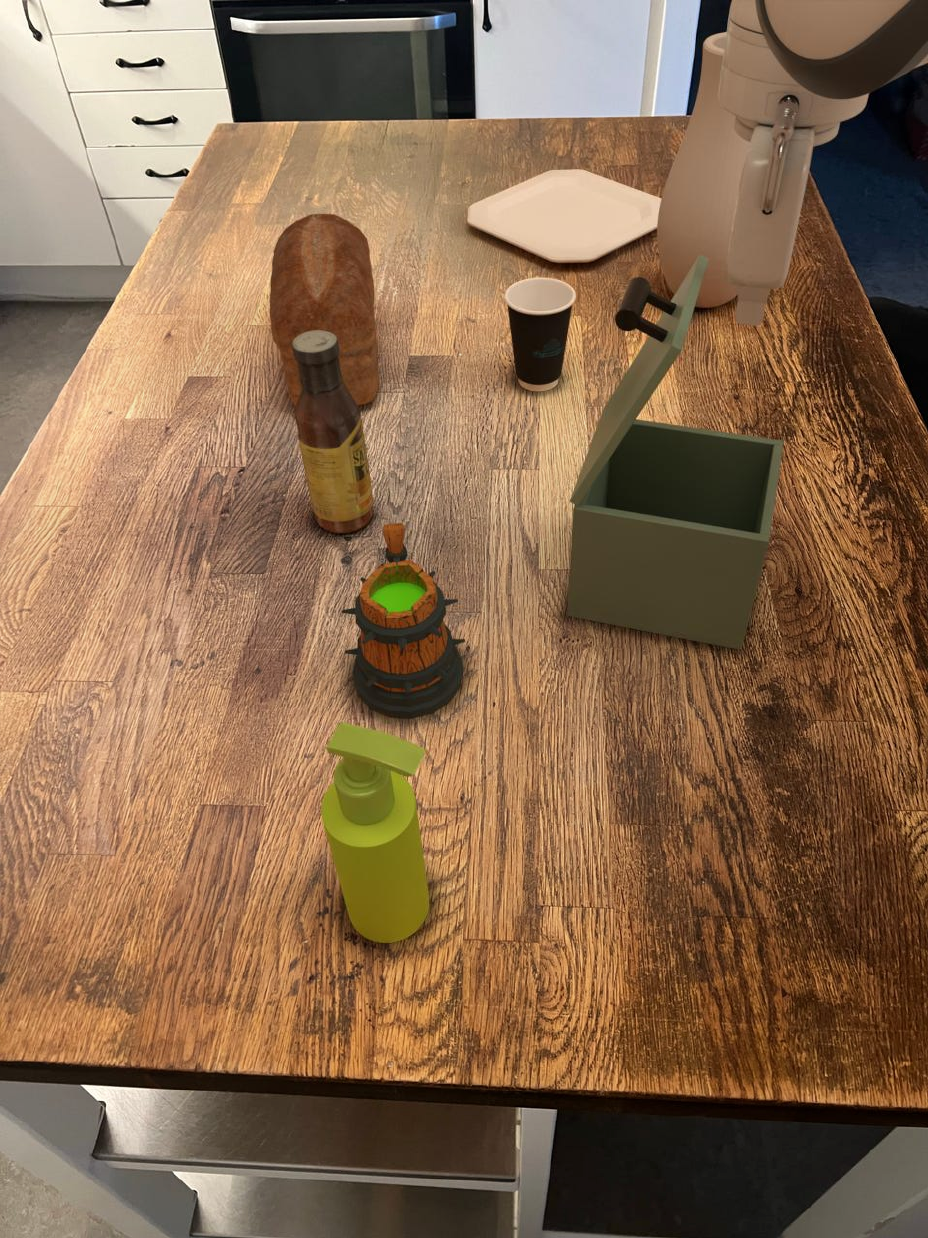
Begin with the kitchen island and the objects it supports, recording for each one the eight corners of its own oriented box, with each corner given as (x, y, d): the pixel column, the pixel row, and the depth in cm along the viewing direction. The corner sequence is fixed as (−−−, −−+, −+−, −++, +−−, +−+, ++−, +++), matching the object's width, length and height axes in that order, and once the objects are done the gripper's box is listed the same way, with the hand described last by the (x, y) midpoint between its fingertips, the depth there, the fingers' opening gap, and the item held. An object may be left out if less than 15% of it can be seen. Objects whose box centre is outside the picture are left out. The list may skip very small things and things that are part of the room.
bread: (283, 426, 110) (259, 311, 100) (287, 305, 129) (267, 197, 119) (388, 416, 110) (374, 300, 100) (376, 296, 130) (363, 189, 119)
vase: (768, 284, 128) (821, 29, 106) (738, 333, 120) (788, 68, 98) (669, 264, 133) (700, 16, 111) (634, 311, 124) (659, 53, 103)
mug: (472, 714, 80) (467, 620, 72) (350, 726, 80) (331, 633, 72) (458, 604, 89) (452, 508, 81) (349, 614, 89) (331, 520, 81)
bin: (757, 548, 93) (784, 440, 84) (741, 650, 84) (769, 541, 75) (598, 521, 97) (607, 414, 87) (567, 616, 88) (573, 508, 78)
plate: (565, 176, 154) (565, 161, 153) (688, 222, 141) (690, 207, 140) (450, 227, 143) (449, 212, 142) (572, 282, 130) (573, 266, 129)
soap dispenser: (424, 959, 66) (398, 799, 52) (334, 928, 68) (284, 765, 53) (454, 885, 70) (438, 717, 55) (368, 857, 72) (330, 687, 57)
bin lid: (709, 258, 74) (654, 228, 74) (682, 350, 66) (620, 316, 65) (611, 412, 87) (564, 387, 87) (577, 506, 78) (525, 479, 78)
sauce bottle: (378, 532, 97) (354, 357, 82) (316, 540, 96) (281, 366, 82) (372, 491, 101) (348, 319, 87) (312, 499, 101) (278, 328, 86)
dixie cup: (550, 406, 111) (553, 319, 103) (492, 387, 114) (490, 301, 106) (583, 373, 115) (588, 287, 107) (526, 355, 118) (527, 270, 110)
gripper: (843, 139, 50) (789, 370, 60) (857, 22, 64) (812, 228, 74) (720, 131, 52) (688, 358, 62) (759, 19, 65) (728, 220, 75)
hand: (755, 286), depth 68 cm, fingers open, 8 cm apart
